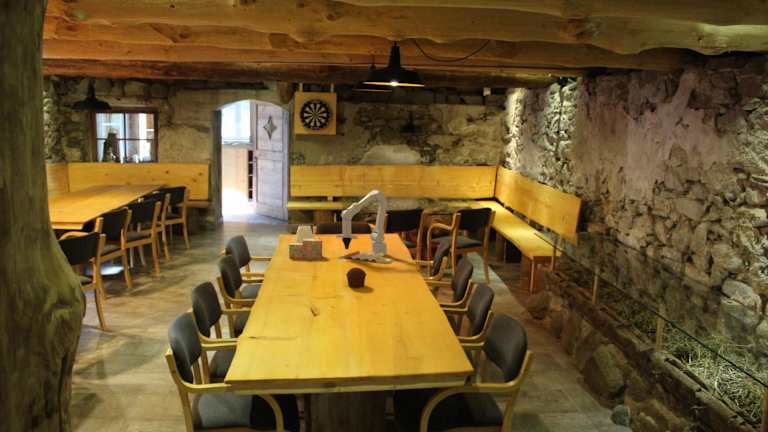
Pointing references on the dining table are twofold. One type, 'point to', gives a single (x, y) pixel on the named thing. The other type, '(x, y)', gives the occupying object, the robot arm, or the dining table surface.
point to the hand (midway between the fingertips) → (346, 249)
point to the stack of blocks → (306, 249)
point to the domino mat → (357, 259)
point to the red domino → (351, 254)
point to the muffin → (356, 278)
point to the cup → (303, 233)
